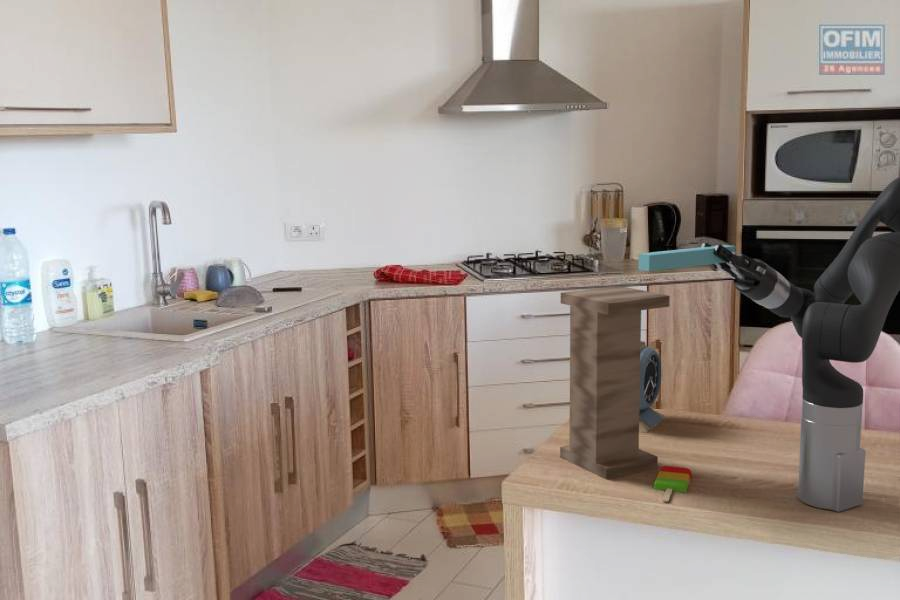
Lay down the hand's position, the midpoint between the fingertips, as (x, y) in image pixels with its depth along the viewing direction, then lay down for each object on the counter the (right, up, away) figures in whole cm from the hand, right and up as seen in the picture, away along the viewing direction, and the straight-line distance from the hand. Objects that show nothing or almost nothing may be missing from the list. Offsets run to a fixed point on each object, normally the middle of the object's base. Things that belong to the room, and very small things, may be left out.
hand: (709, 247), depth 181 cm
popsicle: (-12, -44, -18) cm, 49 cm away
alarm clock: (-11, -37, +20) cm, 43 cm away
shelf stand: (-20, -41, -5) cm, 45 cm away
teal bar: (-5, -3, -2) cm, 6 cm away
